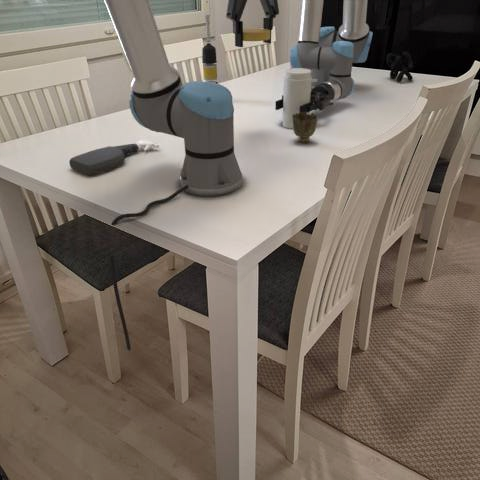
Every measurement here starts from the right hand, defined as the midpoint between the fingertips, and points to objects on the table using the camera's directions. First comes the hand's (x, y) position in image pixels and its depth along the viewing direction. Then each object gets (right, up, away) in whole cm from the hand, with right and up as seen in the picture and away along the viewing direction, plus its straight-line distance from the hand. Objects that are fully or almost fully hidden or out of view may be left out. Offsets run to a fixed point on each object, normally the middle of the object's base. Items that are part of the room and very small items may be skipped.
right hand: (288, 108), depth 142 cm
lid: (-12, +17, -16) cm, 26 cm away
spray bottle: (-50, -20, -17) cm, 56 cm away
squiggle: (+57, +30, +58) cm, 86 cm away
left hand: (-12, +14, -14) cm, 23 cm away
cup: (+4, -12, -8) cm, 15 cm away
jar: (+3, -4, +6) cm, 8 cm away
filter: (-27, +15, +37) cm, 48 cm away
